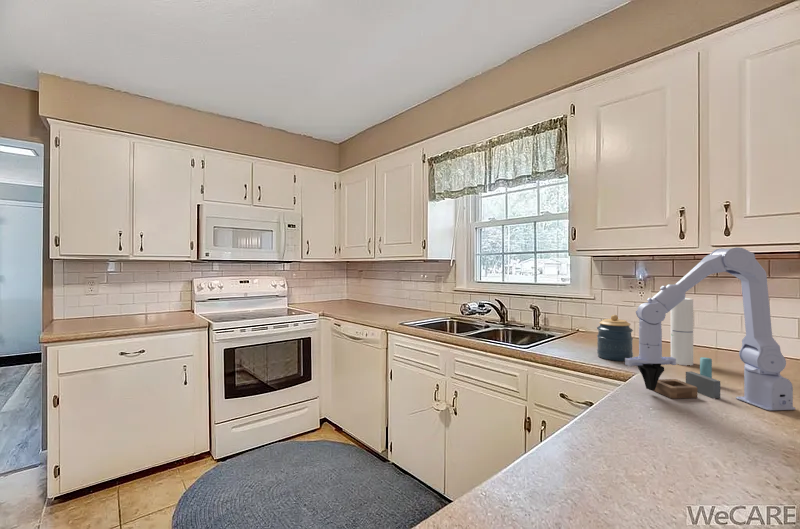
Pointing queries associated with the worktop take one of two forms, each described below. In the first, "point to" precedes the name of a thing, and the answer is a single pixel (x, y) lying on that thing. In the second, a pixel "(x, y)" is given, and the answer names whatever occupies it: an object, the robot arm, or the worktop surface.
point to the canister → (614, 339)
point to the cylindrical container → (682, 332)
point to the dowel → (706, 367)
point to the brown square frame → (675, 389)
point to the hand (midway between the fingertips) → (650, 389)
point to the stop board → (704, 384)
